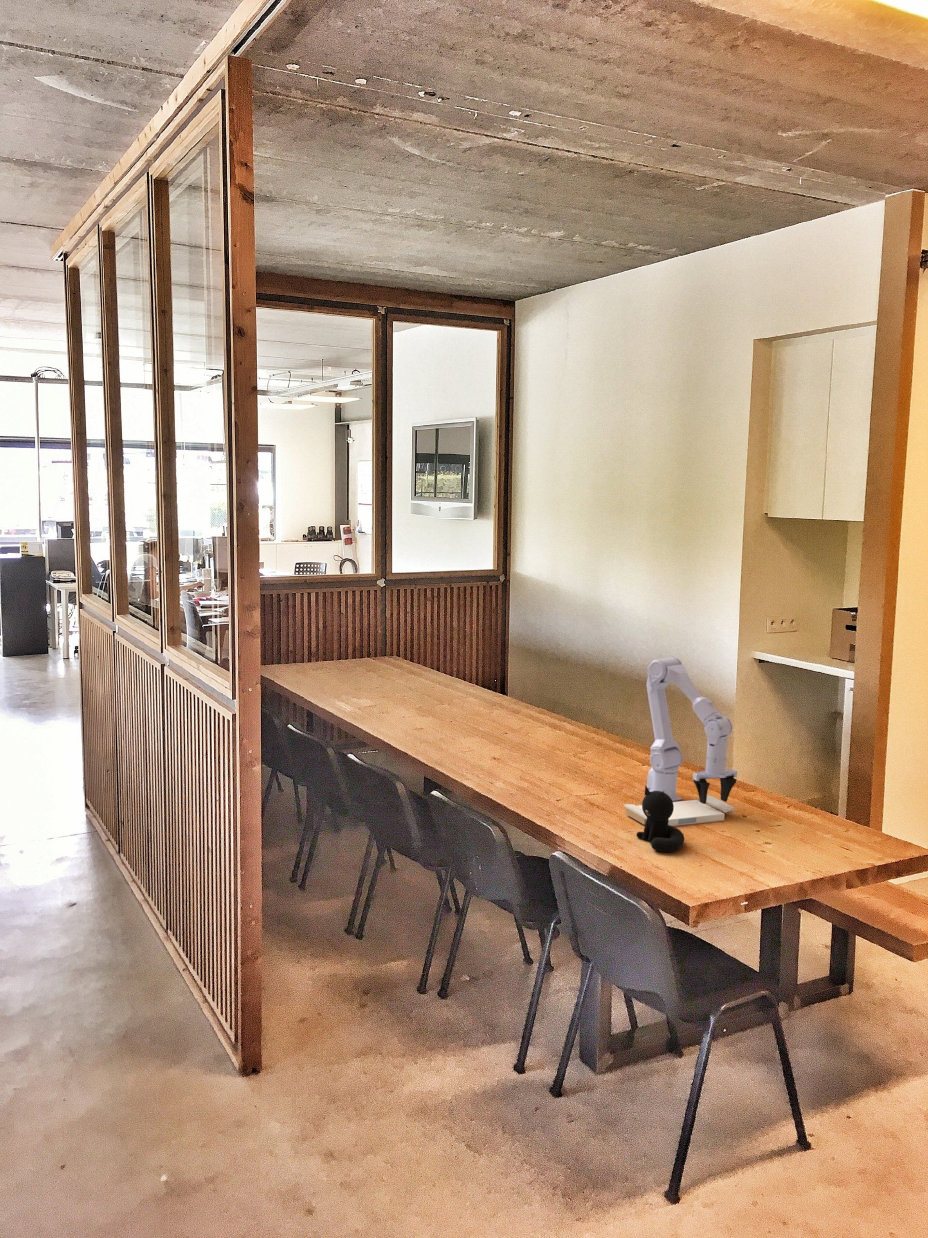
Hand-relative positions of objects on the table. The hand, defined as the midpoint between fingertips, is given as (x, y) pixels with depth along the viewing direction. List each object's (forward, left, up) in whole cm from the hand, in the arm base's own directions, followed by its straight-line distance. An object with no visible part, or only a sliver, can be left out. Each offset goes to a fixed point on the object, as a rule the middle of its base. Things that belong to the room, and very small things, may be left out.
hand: (713, 801), depth 305 cm
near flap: (0, -25, -1) cm, 25 cm away
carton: (0, -12, -3) cm, 12 cm away
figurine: (+18, -30, -4) cm, 36 cm away
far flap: (0, +1, 0) cm, 1 cm away
